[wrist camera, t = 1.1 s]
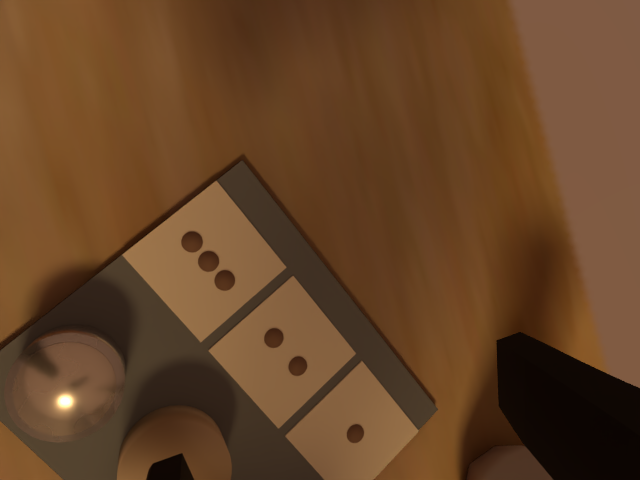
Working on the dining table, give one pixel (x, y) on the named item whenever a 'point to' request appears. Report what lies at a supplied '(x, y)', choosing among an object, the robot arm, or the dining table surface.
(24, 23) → the dining table surface
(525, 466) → the salt shaker
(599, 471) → the robot arm
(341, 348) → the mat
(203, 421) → the beech disc
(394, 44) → the dining table surface
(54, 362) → the tealight tin
